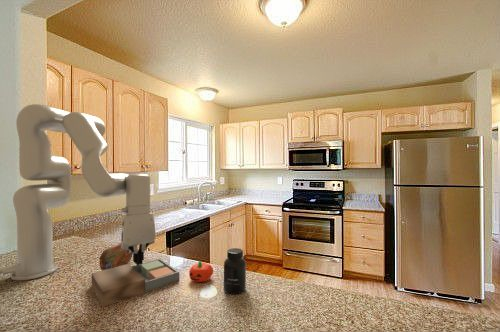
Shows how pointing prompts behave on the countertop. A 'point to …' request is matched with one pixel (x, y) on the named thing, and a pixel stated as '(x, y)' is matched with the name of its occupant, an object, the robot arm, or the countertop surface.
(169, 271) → the tile
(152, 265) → the tile
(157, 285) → the box
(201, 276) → the pumpkin
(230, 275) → the supplement bottle
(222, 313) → the countertop surface
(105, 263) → the tin
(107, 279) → the tan slab
